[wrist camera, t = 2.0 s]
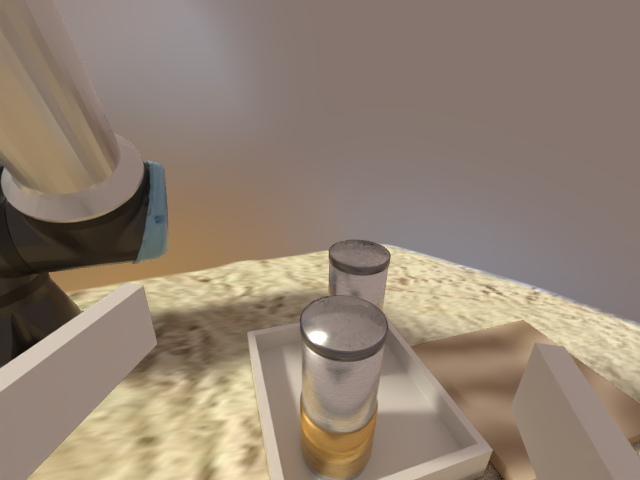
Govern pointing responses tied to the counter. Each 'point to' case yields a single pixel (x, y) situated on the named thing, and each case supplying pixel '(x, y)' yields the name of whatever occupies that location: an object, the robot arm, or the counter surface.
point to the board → (508, 388)
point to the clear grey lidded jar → (359, 270)
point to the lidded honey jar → (340, 384)
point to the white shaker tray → (391, 422)
